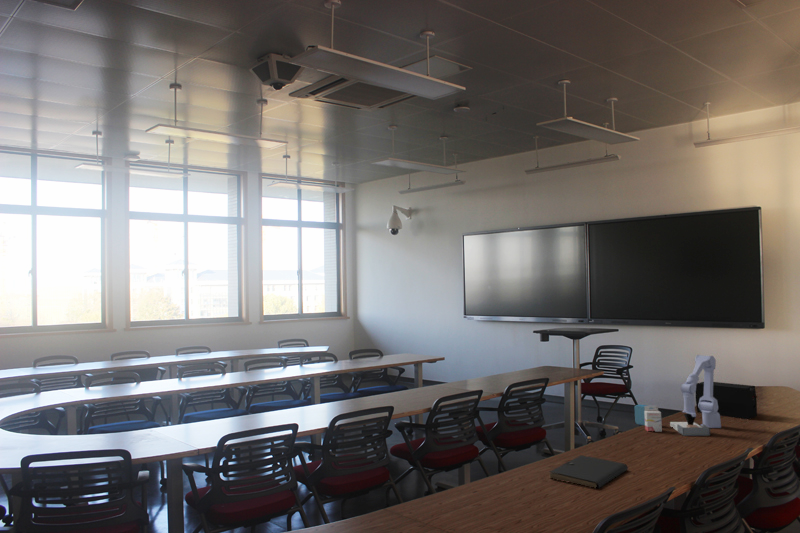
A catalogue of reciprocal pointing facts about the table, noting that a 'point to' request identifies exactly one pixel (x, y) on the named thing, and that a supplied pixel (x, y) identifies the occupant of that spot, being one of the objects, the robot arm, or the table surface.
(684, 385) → the robot arm
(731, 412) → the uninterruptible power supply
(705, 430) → the bin
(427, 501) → the table surface
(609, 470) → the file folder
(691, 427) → the terracotta tile
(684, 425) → the ledge board
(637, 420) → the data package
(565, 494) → the table surface
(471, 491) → the table surface
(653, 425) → the ink cartridge box
